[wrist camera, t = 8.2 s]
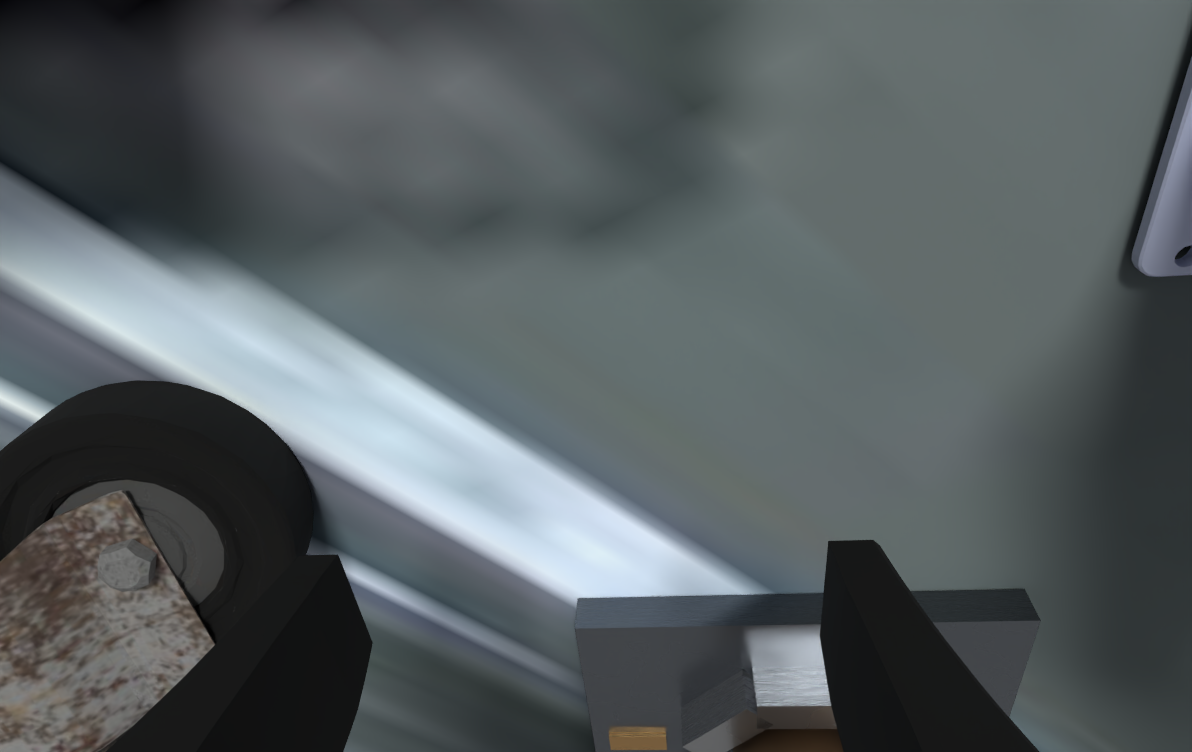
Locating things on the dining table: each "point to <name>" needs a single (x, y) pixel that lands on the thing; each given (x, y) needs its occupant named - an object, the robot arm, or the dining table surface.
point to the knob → (793, 741)
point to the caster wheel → (132, 553)
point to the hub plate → (757, 663)
